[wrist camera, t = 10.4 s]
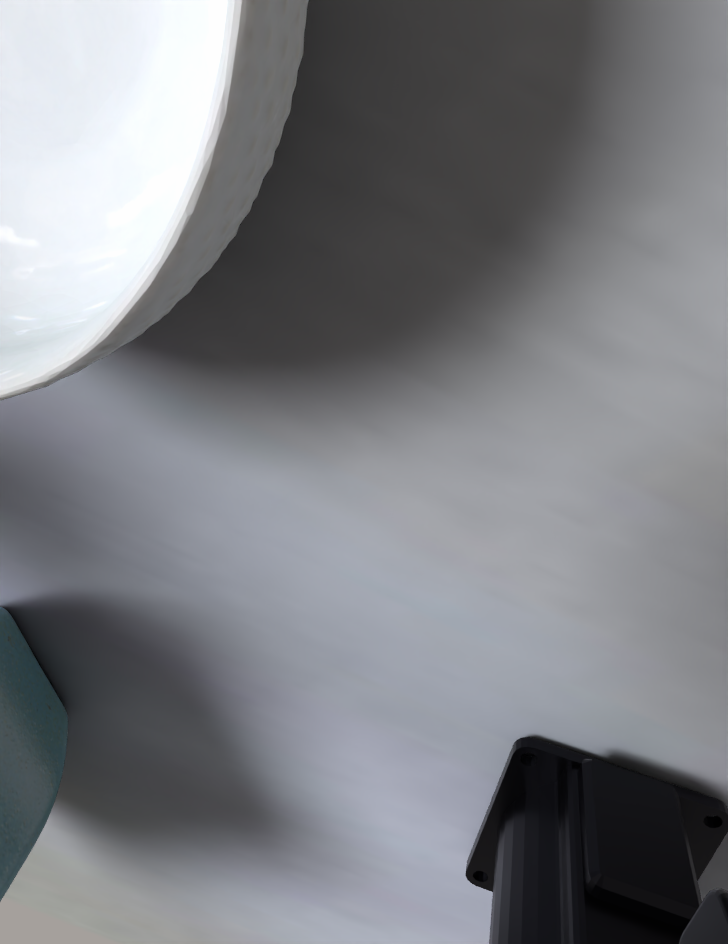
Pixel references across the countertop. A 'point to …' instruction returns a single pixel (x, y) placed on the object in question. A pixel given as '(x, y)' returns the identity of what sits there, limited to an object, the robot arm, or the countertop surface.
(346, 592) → the countertop surface
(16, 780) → the flower pot
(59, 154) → the cereal bowl
